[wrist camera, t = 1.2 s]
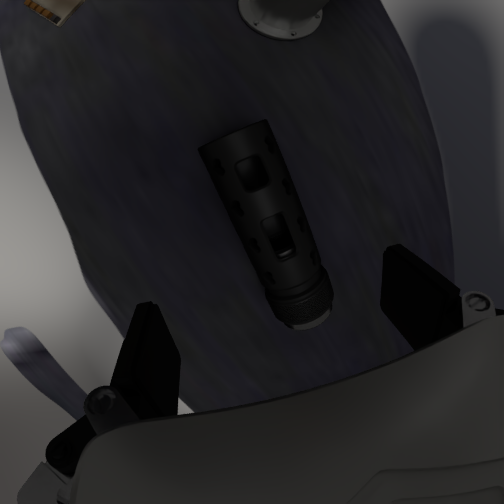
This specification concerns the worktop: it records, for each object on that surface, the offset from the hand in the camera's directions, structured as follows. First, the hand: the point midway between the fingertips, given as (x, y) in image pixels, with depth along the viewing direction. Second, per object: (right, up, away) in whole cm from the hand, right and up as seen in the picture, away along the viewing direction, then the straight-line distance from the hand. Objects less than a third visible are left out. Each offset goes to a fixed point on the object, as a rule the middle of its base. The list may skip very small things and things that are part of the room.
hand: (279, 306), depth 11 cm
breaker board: (-32, +45, +11) cm, 56 cm away
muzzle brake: (+1, +7, +32) cm, 32 cm away
